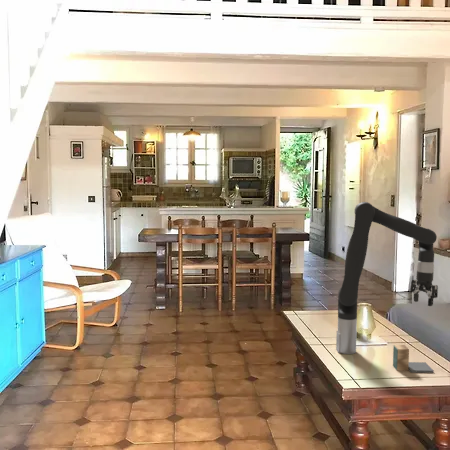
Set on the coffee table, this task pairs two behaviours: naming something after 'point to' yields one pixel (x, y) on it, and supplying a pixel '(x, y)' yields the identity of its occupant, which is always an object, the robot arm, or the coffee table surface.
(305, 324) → the coffee table surface
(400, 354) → the oak block
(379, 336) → the coffee table surface
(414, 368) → the rubber pad
